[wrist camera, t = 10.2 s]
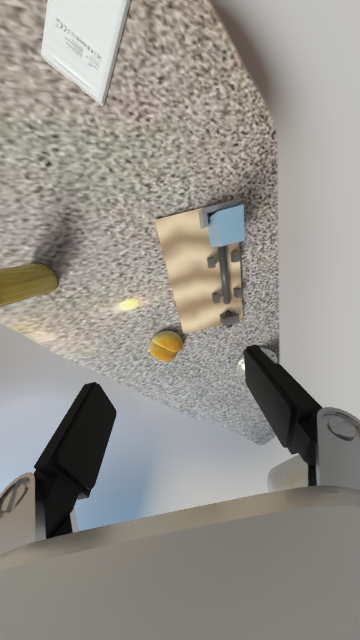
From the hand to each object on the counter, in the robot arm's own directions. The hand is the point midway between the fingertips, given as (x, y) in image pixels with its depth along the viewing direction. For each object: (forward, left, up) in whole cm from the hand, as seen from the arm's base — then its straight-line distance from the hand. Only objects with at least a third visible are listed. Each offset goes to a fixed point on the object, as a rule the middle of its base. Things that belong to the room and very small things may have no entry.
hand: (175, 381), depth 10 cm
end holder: (+11, -12, -27) cm, 32 cm away
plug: (+2, -12, -27) cm, 30 cm away
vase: (+8, +26, -28) cm, 39 cm away
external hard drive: (+36, +2, -29) cm, 46 cm away
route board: (0, -8, -28) cm, 30 cm away
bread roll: (-16, +5, -29) cm, 33 cm away
